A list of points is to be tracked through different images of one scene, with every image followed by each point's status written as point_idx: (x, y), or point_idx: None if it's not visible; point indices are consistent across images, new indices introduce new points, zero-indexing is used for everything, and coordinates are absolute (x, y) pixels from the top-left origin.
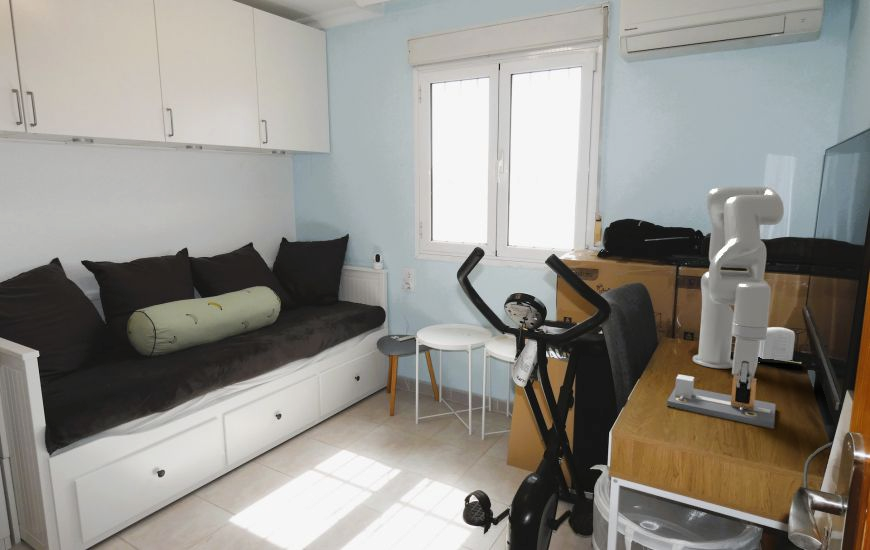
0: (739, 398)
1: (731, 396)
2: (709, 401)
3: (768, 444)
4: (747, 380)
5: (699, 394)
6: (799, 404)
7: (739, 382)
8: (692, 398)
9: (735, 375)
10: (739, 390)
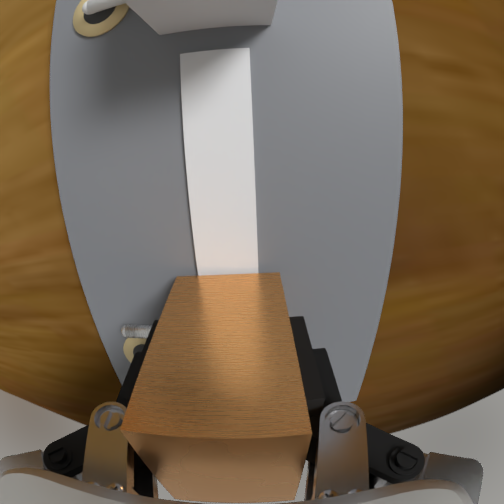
0: (136, 357)
1: (162, 311)
2: (183, 144)
3: (28, 364)
4: (197, 485)
5: (298, 61)
6: (420, 406)
7: (48, 449)
8: (176, 39)
9: (292, 442)
10: (119, 397)
